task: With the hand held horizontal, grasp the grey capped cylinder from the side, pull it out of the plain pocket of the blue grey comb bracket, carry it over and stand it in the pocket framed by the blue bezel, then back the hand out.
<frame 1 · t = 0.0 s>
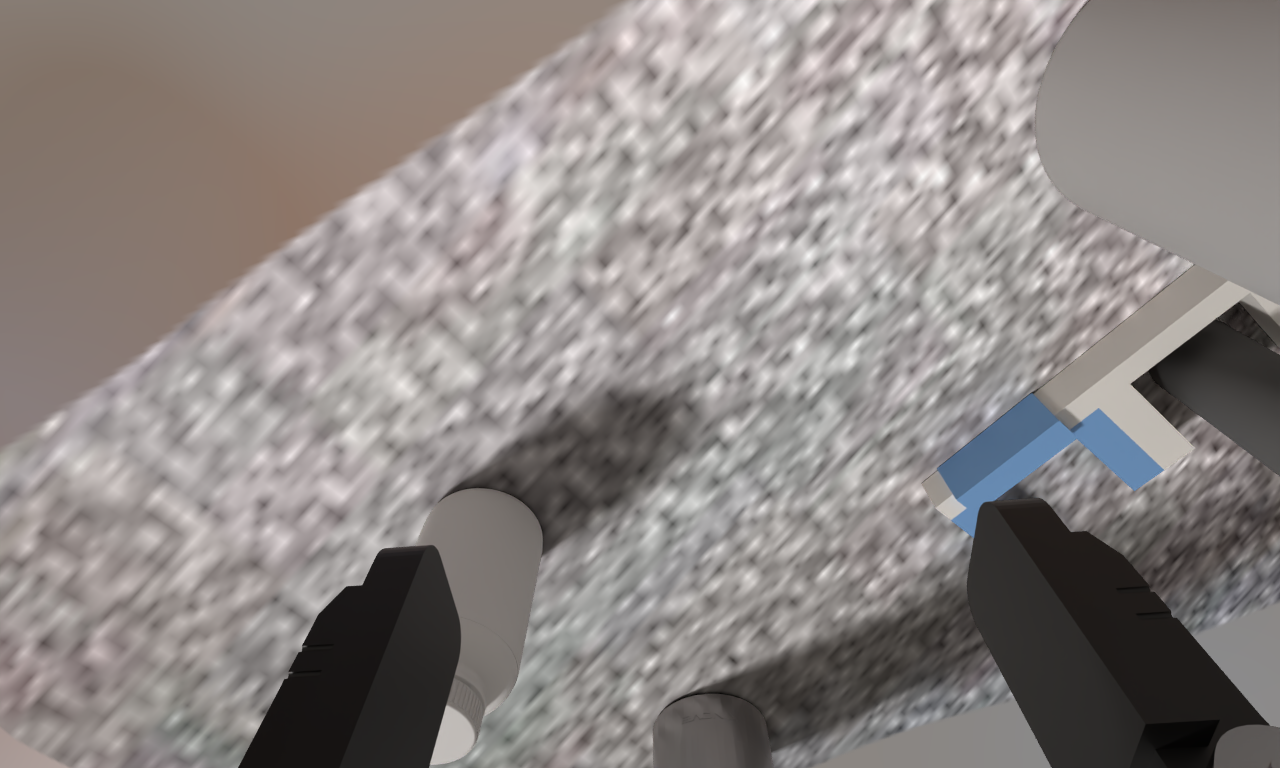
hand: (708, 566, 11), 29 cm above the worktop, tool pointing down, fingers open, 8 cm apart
grey capped cylinder: (1190, 354, 42), on the worktop
pill bottle: (485, 529, 48), on the worktop
blue grey comb bracket: (1111, 420, 44), on the worktop
cylinder vase: (1157, 87, 35), on the worktop
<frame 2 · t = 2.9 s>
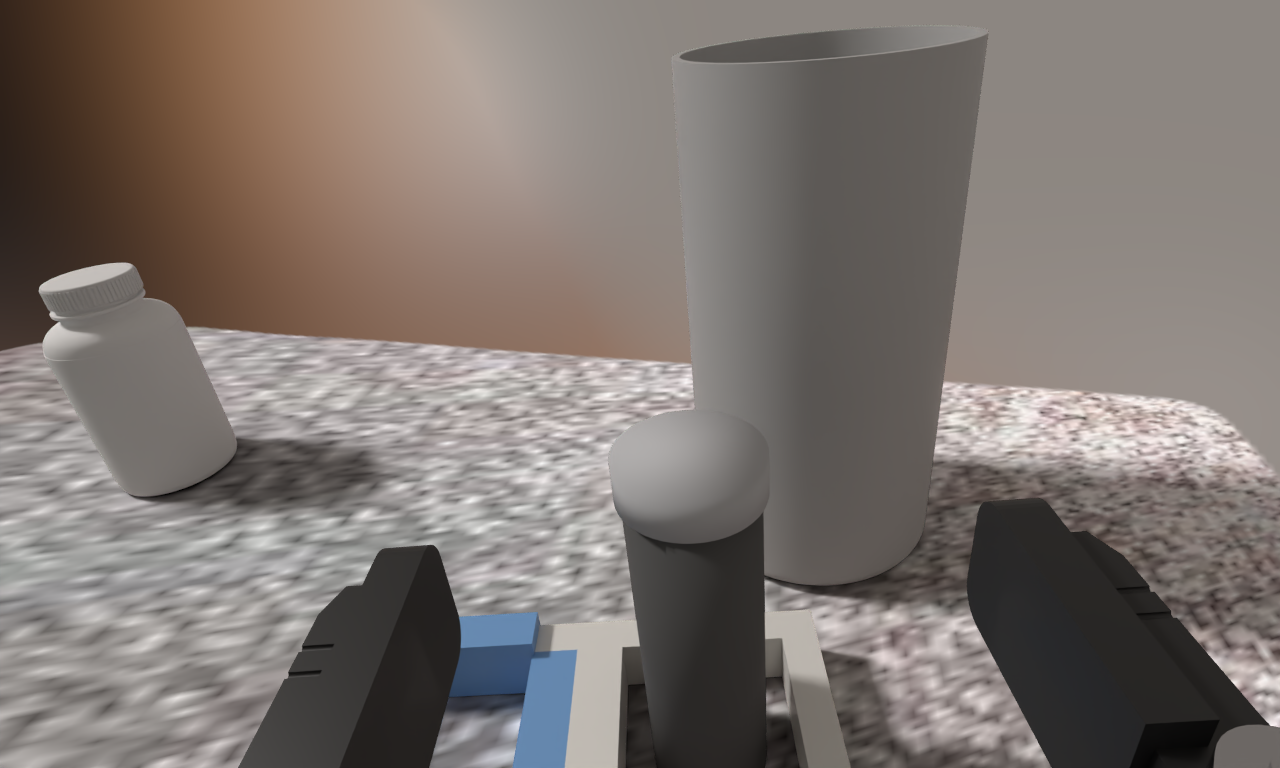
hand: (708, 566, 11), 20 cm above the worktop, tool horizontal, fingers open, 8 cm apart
grey capped cylinder: (710, 749, 30), on the worktop
pill bottle: (182, 468, 53), on the worktop
blue grey comb bracket: (577, 765, 29), on the worktop
cylinder vase: (809, 516, 42), on the worktop
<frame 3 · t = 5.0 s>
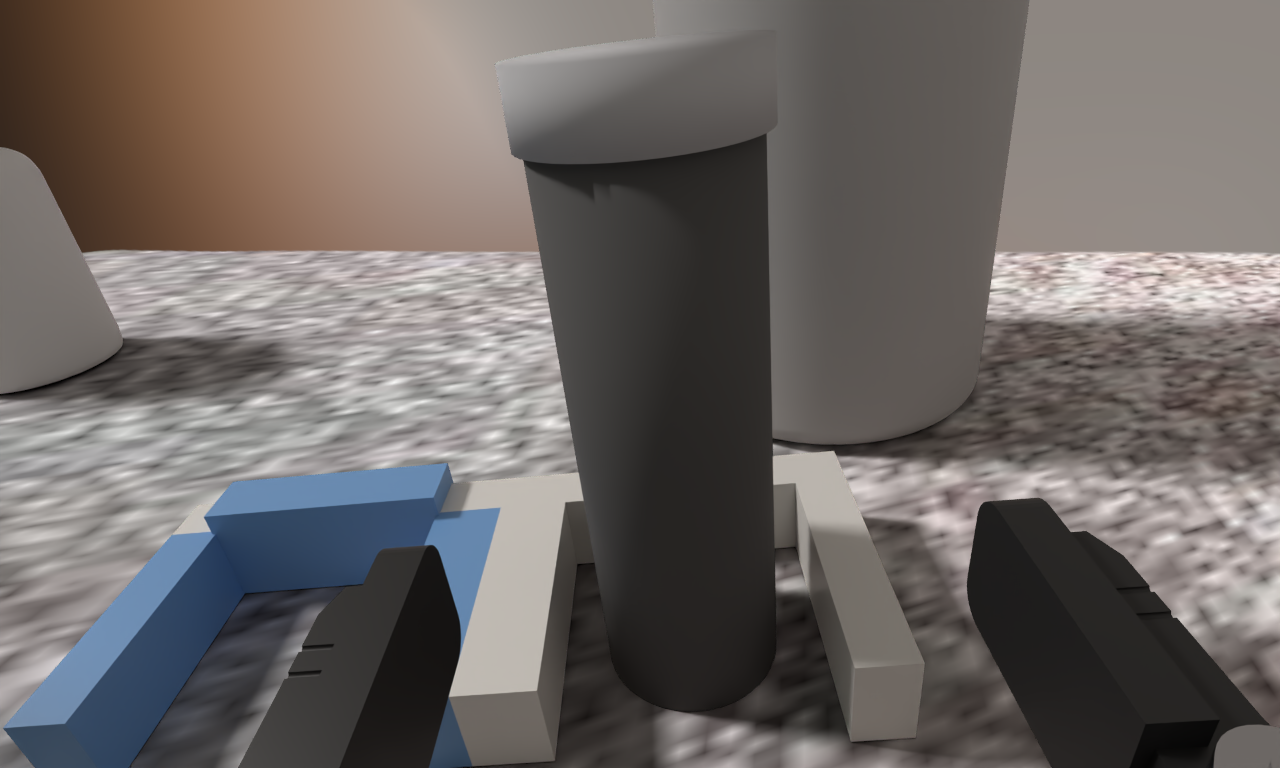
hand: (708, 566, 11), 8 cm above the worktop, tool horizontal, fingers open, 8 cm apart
grey capped cylinder: (692, 638, 20), on the worktop
pill bottle: (53, 369, 43), on the worktop
blue grey comb bracket: (495, 663, 20), on the worktop
cylinder vase: (823, 379, 32), on the worktop
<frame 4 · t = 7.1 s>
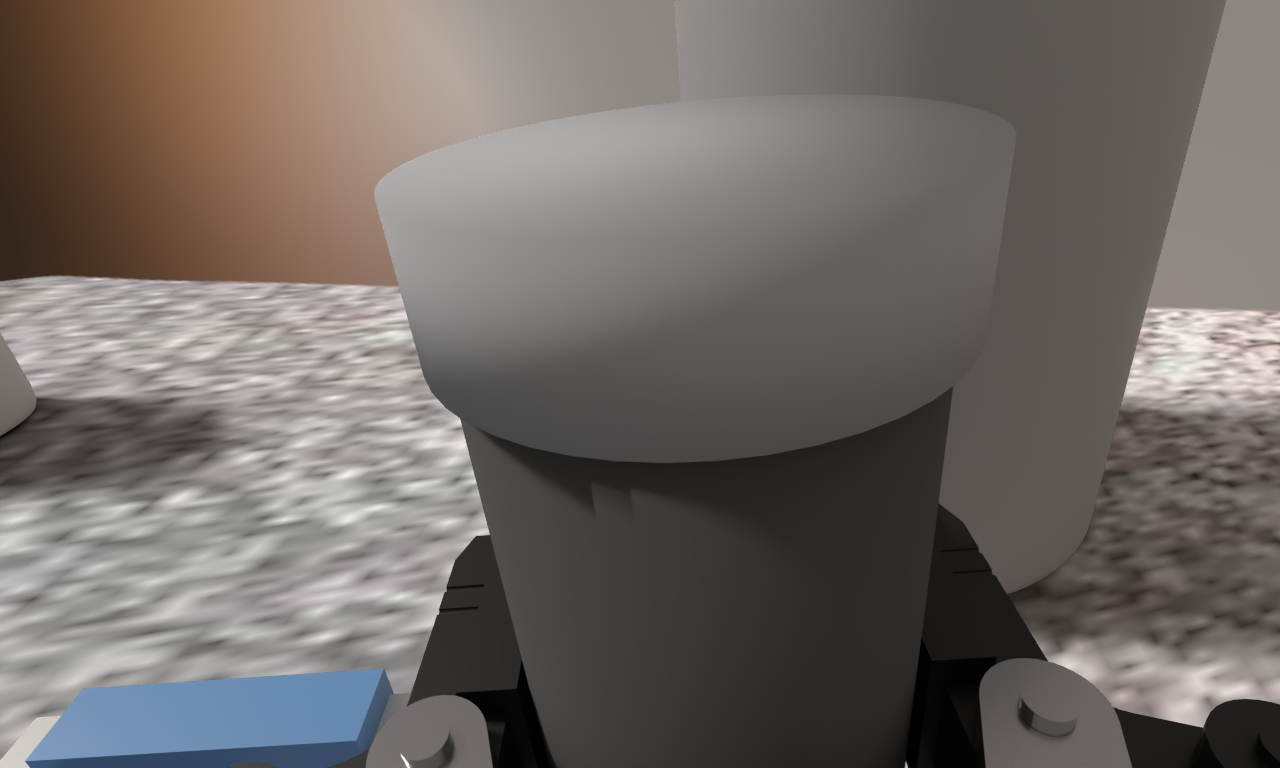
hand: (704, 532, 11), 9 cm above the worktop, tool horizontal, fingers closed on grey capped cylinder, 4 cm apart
cylinder vase: (882, 490, 25), on the worktop
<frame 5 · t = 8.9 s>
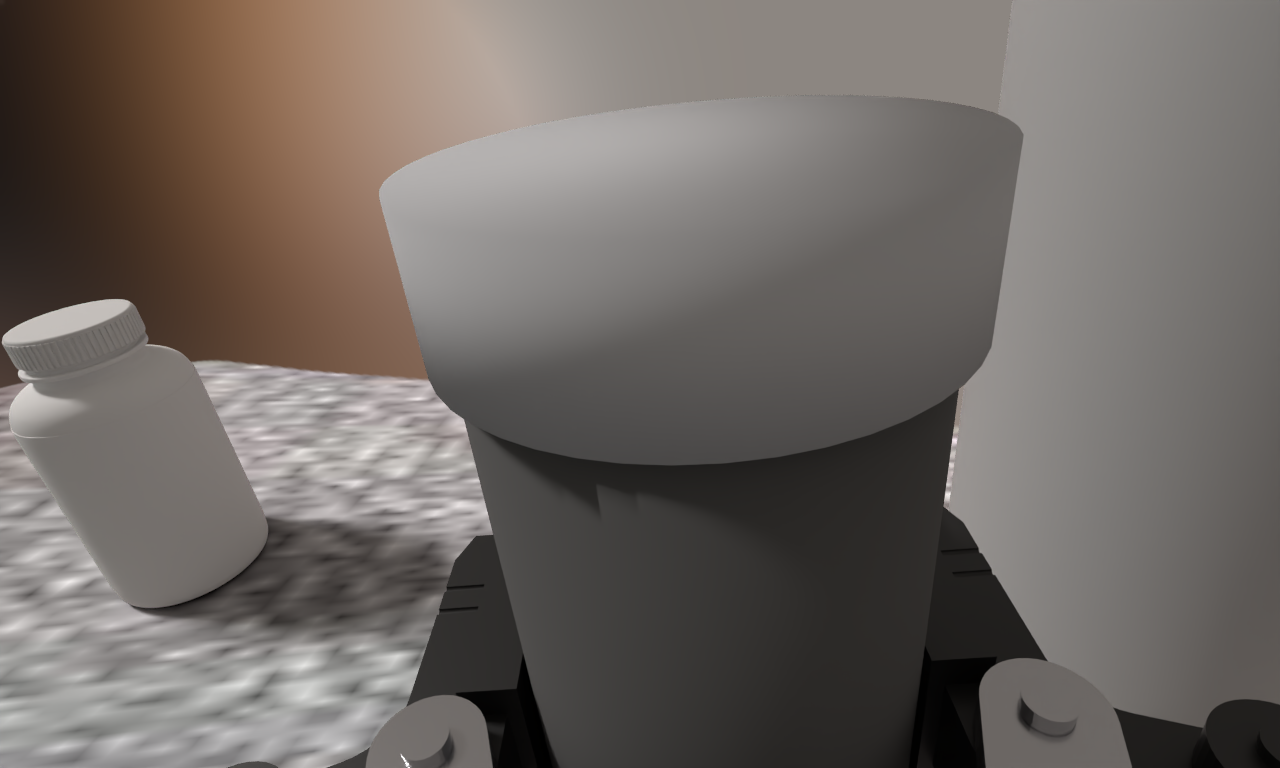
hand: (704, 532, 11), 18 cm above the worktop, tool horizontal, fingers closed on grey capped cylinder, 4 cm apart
pill bottle: (198, 562, 41), on the worktop
cylinder vase: (1101, 674, 28), on the worktop
when the fingers open (10 cm above the worktop, at t = 11.1 s): grey capped cylinder drops 1 cm, on the worktop.
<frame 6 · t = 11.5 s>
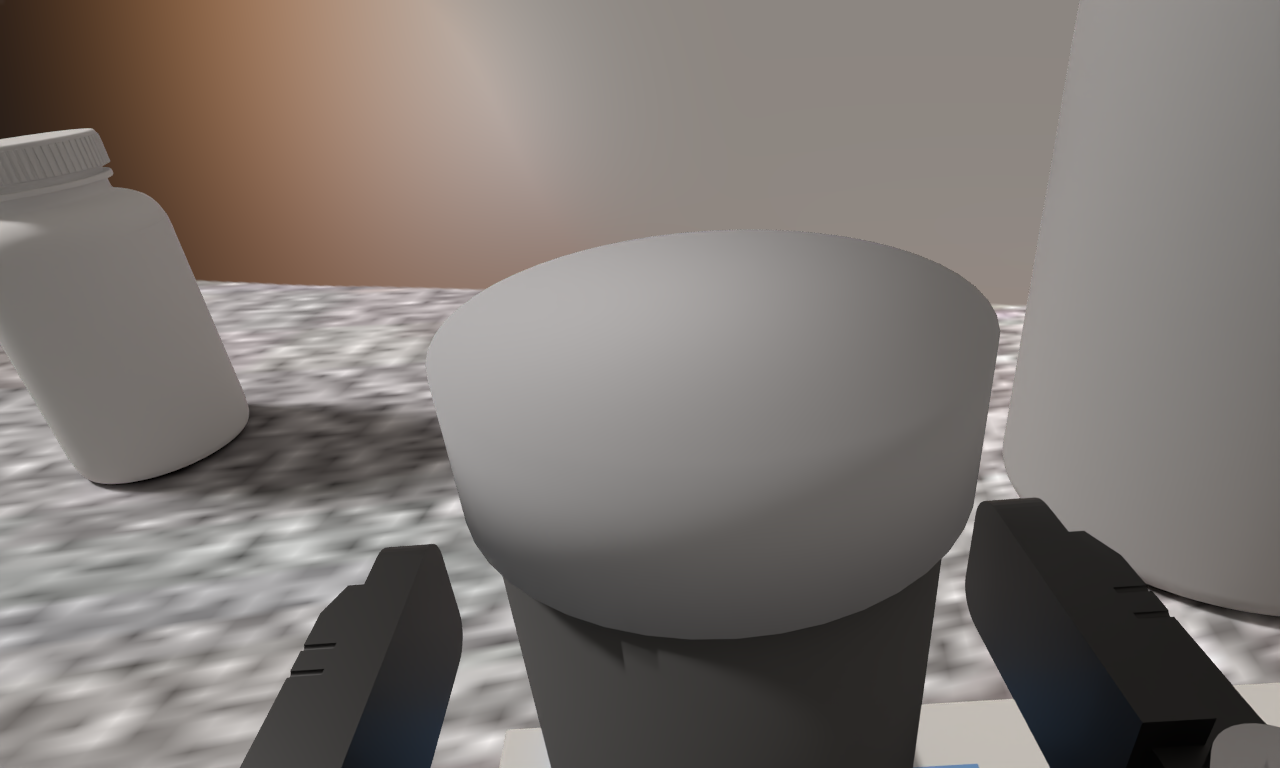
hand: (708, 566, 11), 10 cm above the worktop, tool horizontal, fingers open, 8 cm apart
pill bottle: (171, 445, 37), on the worktop
cylinder vase: (1191, 500, 26), on the worktop
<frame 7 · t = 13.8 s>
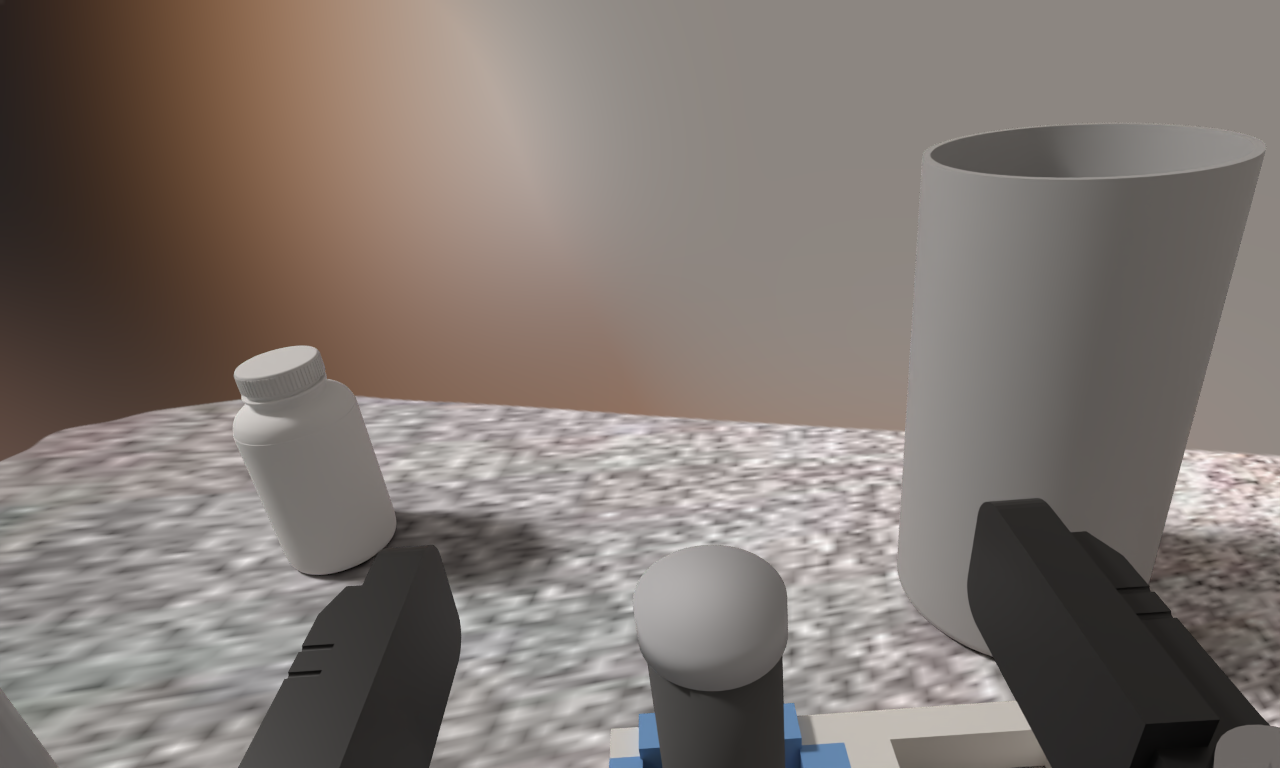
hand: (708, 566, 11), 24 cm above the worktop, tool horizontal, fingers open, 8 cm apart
pill bottle: (345, 544, 53), on the worktop
cylinder vase: (1008, 590, 42), on the worktop
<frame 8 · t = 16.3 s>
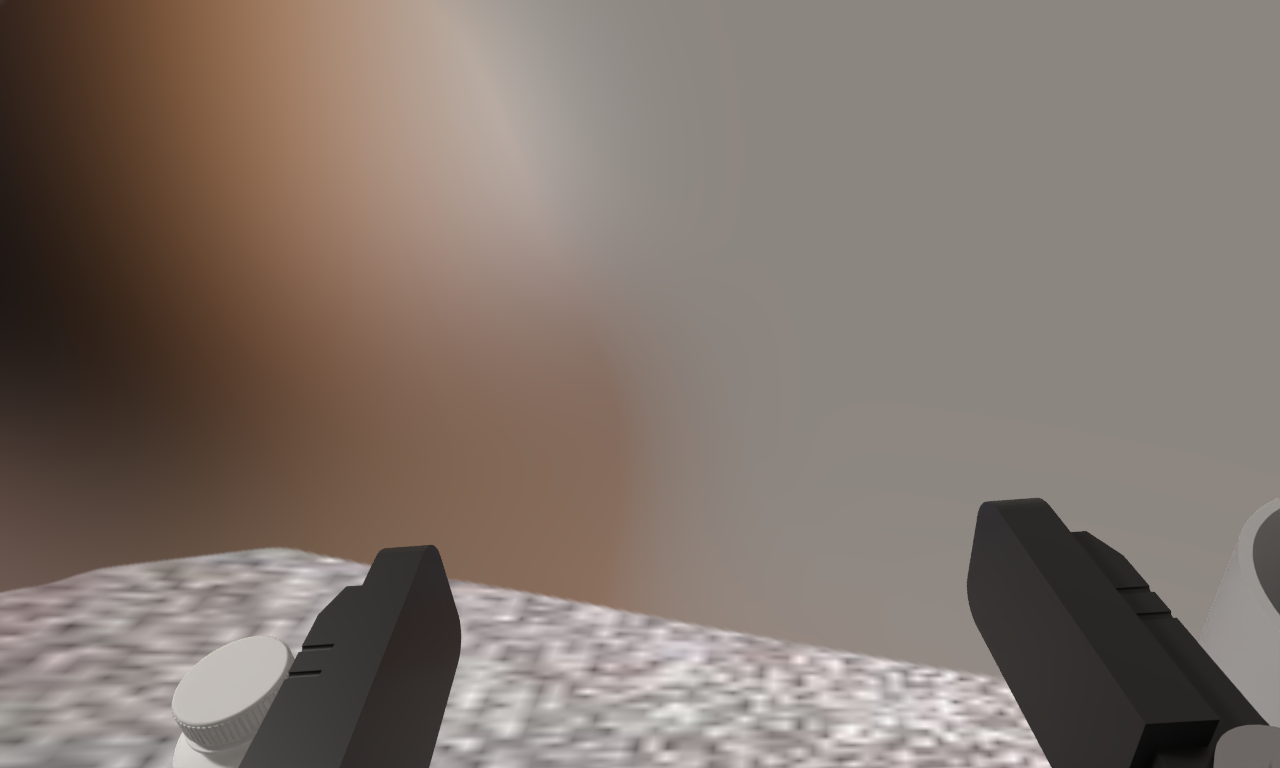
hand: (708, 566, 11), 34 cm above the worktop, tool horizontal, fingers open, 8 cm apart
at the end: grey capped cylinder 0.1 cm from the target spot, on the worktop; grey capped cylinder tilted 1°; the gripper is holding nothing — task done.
